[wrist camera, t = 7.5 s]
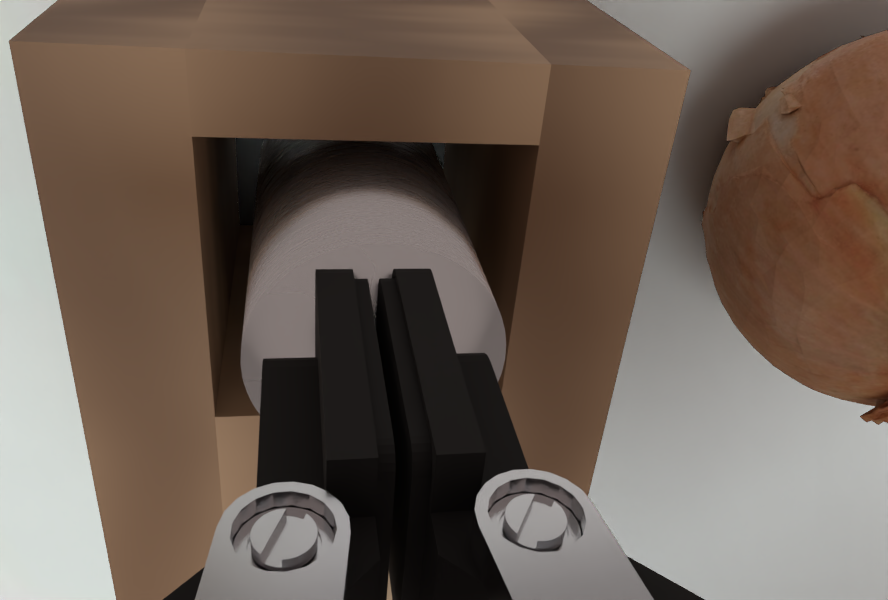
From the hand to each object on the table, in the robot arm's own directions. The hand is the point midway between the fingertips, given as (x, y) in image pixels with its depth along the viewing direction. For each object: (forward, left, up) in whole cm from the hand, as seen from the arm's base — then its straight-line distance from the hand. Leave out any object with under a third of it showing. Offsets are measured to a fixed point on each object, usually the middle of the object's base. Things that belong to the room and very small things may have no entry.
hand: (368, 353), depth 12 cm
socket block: (0, +4, -10) cm, 11 cm away
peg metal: (0, 0, -8) cm, 8 cm away
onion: (-14, +1, -10) cm, 17 cm away
